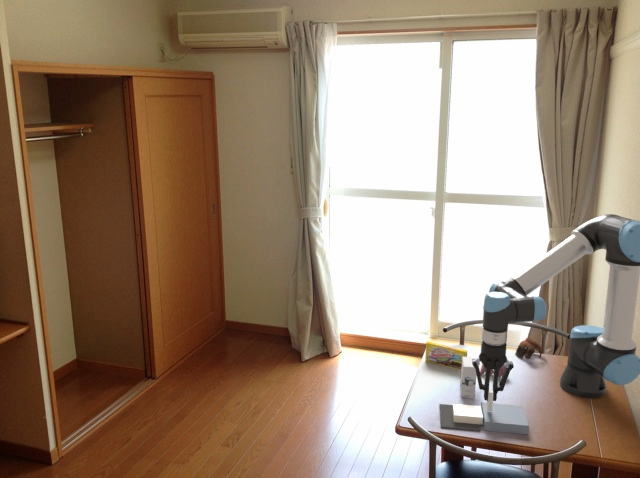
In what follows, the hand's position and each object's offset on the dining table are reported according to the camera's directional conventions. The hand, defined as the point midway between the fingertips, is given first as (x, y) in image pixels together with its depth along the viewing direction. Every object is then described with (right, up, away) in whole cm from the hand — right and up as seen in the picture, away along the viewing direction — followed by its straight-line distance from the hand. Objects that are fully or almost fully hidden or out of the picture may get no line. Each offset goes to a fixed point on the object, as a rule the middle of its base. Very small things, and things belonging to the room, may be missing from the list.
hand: (489, 409), depth 185 cm
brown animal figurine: (+29, +7, +47) cm, 56 cm away
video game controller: (+11, +3, +31) cm, 33 cm away
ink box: (-2, 0, +19) cm, 19 cm away
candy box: (-6, +5, +39) cm, 40 cm away
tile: (-7, -3, +2) cm, 8 cm away
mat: (-9, -4, +2) cm, 10 cm away
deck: (+5, -4, 0) cm, 6 cm away
